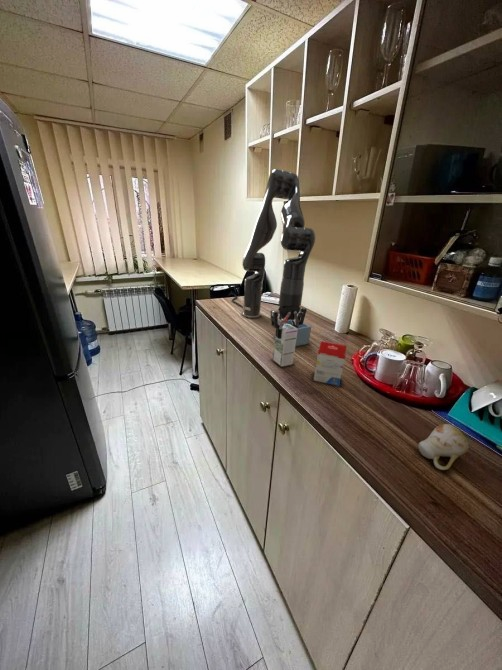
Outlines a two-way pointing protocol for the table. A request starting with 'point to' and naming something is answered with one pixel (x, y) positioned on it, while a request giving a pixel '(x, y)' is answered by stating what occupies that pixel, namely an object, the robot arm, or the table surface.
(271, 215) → the robot arm
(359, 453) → the table surface
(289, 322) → the tidy
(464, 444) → the mug
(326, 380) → the ink box
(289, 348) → the syrup box
